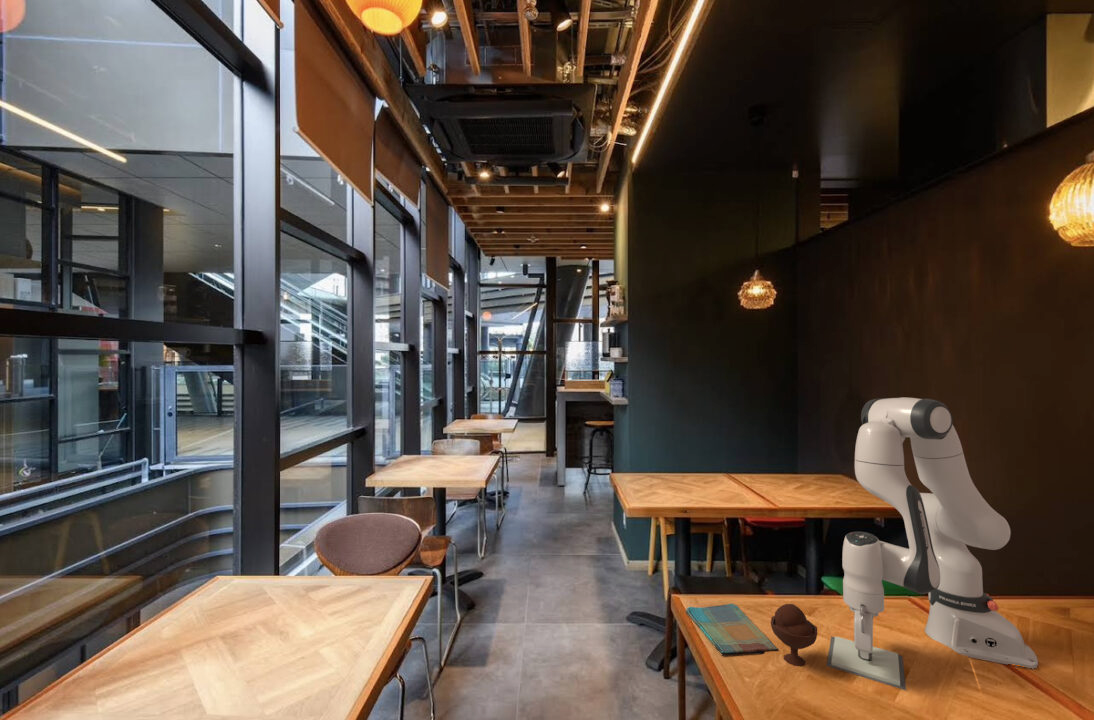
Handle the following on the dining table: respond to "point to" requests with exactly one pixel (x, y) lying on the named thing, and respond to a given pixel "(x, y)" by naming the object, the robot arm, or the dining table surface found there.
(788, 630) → the ice cream bowl
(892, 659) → the lid
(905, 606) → the dining table surface
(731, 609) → the dish towel
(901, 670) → the mat
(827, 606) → the dining table surface
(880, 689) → the dining table surface
